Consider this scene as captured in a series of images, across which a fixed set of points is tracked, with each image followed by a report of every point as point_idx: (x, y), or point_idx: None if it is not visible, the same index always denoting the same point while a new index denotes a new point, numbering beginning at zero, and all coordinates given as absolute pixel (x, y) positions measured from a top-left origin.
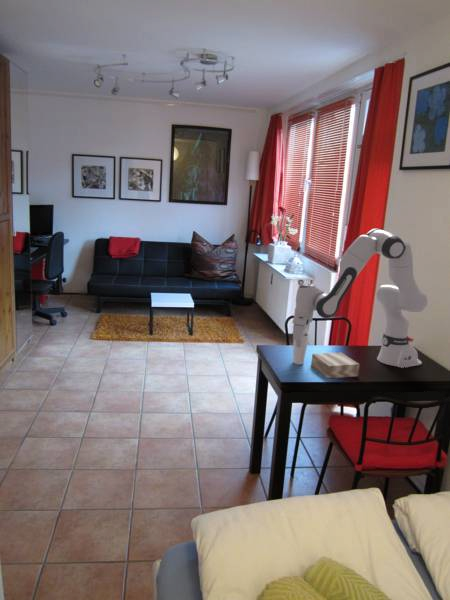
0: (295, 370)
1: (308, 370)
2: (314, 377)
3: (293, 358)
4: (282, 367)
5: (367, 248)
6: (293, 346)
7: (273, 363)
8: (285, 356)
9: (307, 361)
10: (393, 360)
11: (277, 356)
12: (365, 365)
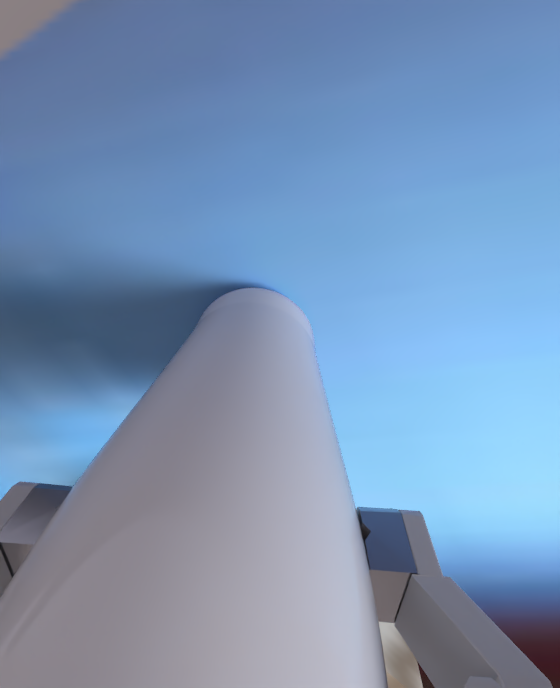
0: (41, 343)
1: None
2: (12, 484)
3: (212, 312)
4: (18, 202)
5: None
6: (181, 382)
7: (64, 46)
8: (428, 156)
9: (353, 407)
10: None
11: (385, 31)
12: (431, 684)
